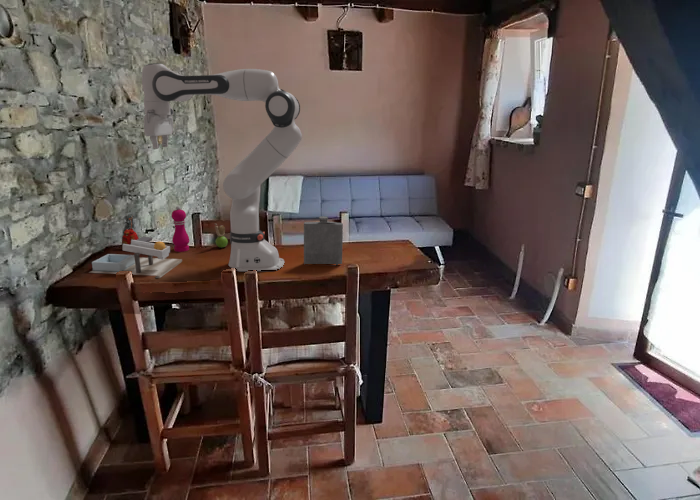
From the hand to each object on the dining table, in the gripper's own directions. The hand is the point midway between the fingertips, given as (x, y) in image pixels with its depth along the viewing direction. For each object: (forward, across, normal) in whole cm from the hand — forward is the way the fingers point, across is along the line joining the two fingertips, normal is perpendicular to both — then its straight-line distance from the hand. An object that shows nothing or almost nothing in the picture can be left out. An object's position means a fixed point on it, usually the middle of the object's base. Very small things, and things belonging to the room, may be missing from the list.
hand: (160, 147), depth 171 cm
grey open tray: (+45, -11, +18) cm, 50 cm away
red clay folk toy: (+46, +16, +23) cm, 54 cm away
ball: (+36, -13, -1) cm, 38 cm away
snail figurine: (+46, +21, -16) cm, 53 cm away
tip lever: (+39, -8, +4) cm, 40 cm away
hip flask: (+46, -1, -63) cm, 78 cm away
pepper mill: (+46, +16, +1) cm, 49 cm away
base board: (+46, -9, +10) cm, 48 cm away
